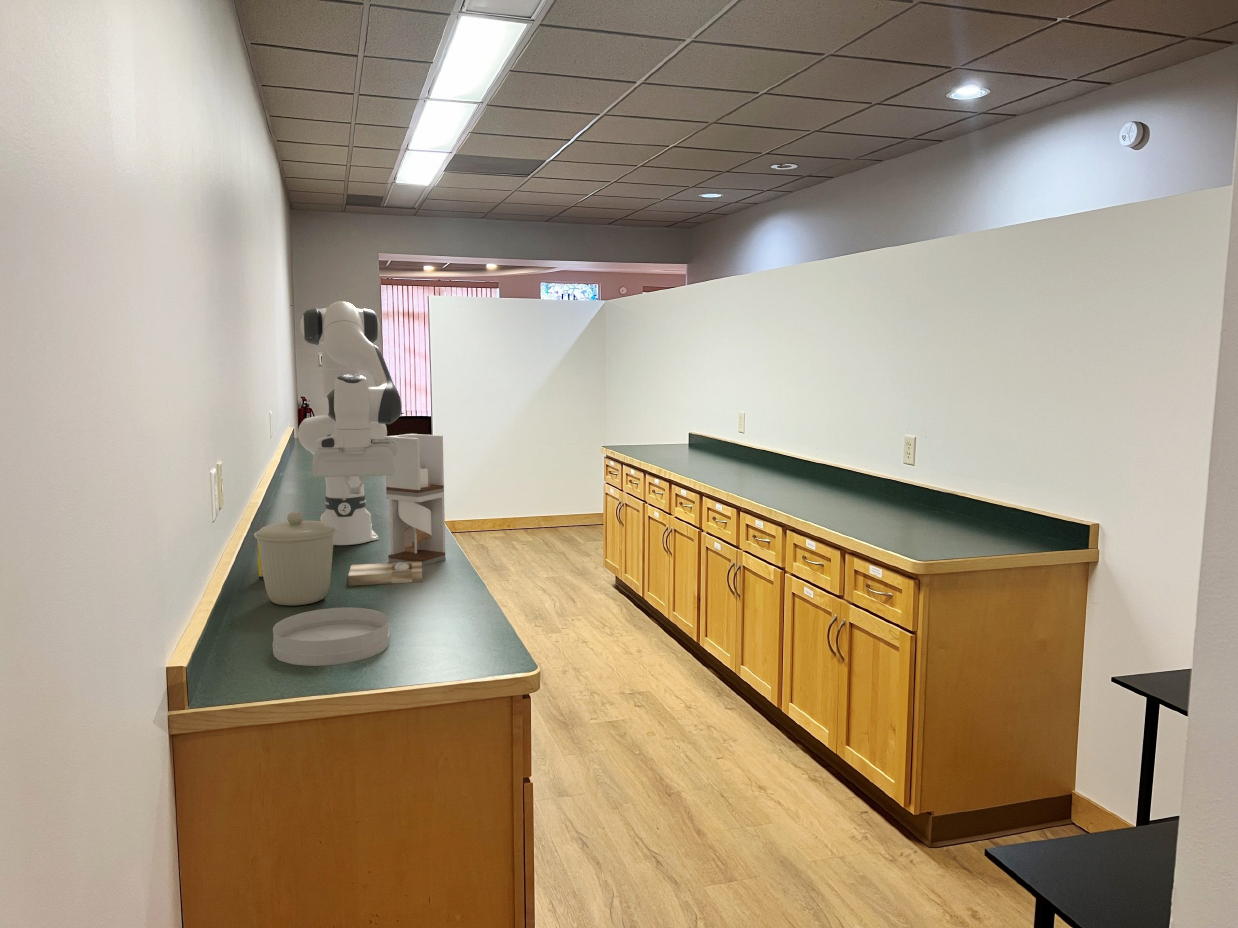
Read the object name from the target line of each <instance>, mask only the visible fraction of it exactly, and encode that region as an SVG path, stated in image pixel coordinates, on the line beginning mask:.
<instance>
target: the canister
mask: <svg viewBox="0 0 1238 928" xmlns="http://www.w3.org/2000/svg"><path fill="white" fill-rule="evenodd" d="M286 519H287V520H286V521H281V522H275V523H270V524H267V525H265V526H263V527H261V528H260V529H259V530H257V531H255V532H254V534H253V537H254V538H255V539H256V540H257V541H258V547H257V549H258V548H259V554H260V560H261V566H262V572H263V577H264V579H263V581H264V586H265V590H266V594H267V597H268V599H269V600H270V601H271V602H272V603H273V604H275V605H280V606H289V607H291V606H292V607H293V606H303V605H305V606H306V605H309V604H315V603H316V602H319V601H322V600H323V599H325V598H326V596H327V594H328V593H329V590H330V587H331V585H330V584H331V577H332V576H331V575H332V567H333V566H332V564H333V554H334V553H333V551H334V545H333V539H334V534H335V533H336V531H337V529H336V528H335V527H333V526H331V525H329V524H328V523H325V522H321V520H320V521H319V520H304V515H303V513H302V512H301V511H291V512H289V513H288V514H287V516H286Z"/></svg>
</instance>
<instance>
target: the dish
mask: <svg viewBox="0 0 1238 928" xmlns="http://www.w3.org/2000/svg"><path fill="white" fill-rule="evenodd" d="M389 626H390V625H389V617H388V616H387V614H386V613H384V612H382V611H380V610H377V609H372V608H363V607H330V608H329V607H328V608H322V609H321V608H320V609H315V610H310V611H304V612H300V613H297V614H293V615H290V616H288V617H285V618H283V619H281V620H279V621H278V622H276V623H275V625H274V626H273V627H272V633H273V634H272V635H273V636H272V637H273V641H272V653H273V657H274V658H276V659H277V660H278V661H280V662H283V663H286V664H290V665H291V664H292V665H298V666H306V667H307V666H311V667H315V666H317V667H320V666H334V665H341V664H342V665H343V664H347V663H352V662H357V661H362V660H365V659H368V658H370V657H373V656H376V655H378V654H380V653H382V652H384V651H385V650H386V649H387V648H388V647H389V646H390V643H391V631H390V630H389Z"/></svg>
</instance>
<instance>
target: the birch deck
mask: <svg viewBox="0 0 1238 928" xmlns="http://www.w3.org/2000/svg"><path fill="white" fill-rule="evenodd" d="M397 563H399V562H397ZM397 563H391V562H380V563H379V562H377V563H364V564H363V563H362V564H361V563H359V564H351V565H350V569H349V572H348V577H347V578H348V579H347V580H348V586H352V587H353V586H367V585H386V584H401V583H402V584H404V583H405V584H407V583H419V582H422V583H423V566H422V561H417V562H405V563H407V564H408V565H409V568H410V569H408V570H394V567H395V565H396V564H397Z"/></svg>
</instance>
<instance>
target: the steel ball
mask: <svg viewBox="0 0 1238 928" xmlns="http://www.w3.org/2000/svg"><path fill="white" fill-rule="evenodd" d="M408 569H410V568H409V565H408V564H407V563H405V562H399V563H397V564H396V565H395V567H394V570H408Z"/></svg>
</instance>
